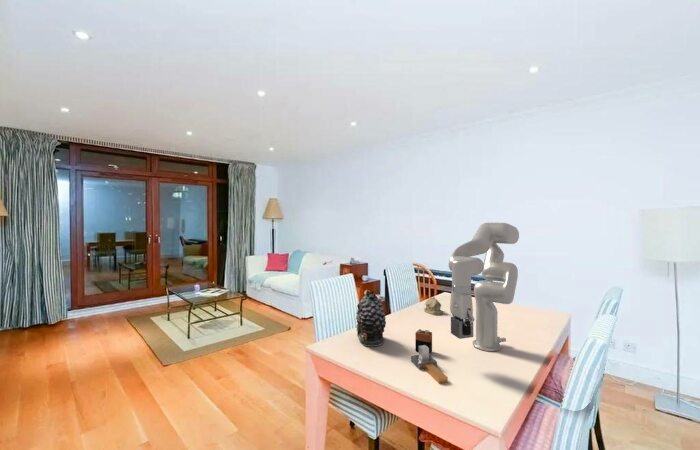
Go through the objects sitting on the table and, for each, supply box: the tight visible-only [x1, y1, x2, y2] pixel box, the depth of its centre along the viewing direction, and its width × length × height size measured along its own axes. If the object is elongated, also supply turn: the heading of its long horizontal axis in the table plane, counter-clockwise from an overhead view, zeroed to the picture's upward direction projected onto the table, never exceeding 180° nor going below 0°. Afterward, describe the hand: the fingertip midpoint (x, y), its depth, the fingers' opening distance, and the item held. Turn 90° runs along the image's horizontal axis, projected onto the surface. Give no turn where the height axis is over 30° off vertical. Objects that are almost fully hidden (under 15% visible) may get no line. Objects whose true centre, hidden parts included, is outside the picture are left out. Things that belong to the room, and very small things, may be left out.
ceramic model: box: [423, 296, 444, 316], centre depth 212 cm, size 14×11×10 cm
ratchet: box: [410, 345, 449, 385], centre depth 130 cm, size 20×8×8 cm, turn 14°
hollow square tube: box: [450, 316, 474, 340], centre depth 134 cm, size 6×6×7 cm
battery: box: [414, 328, 433, 355], centre depth 149 cm, size 4×7×10 cm, turn 59°
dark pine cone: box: [355, 289, 387, 347], centre depth 163 cm, size 21×15×25 cm
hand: (461, 331), depth 134 cm, fingers closed on hollow square tube, 6 cm apart
